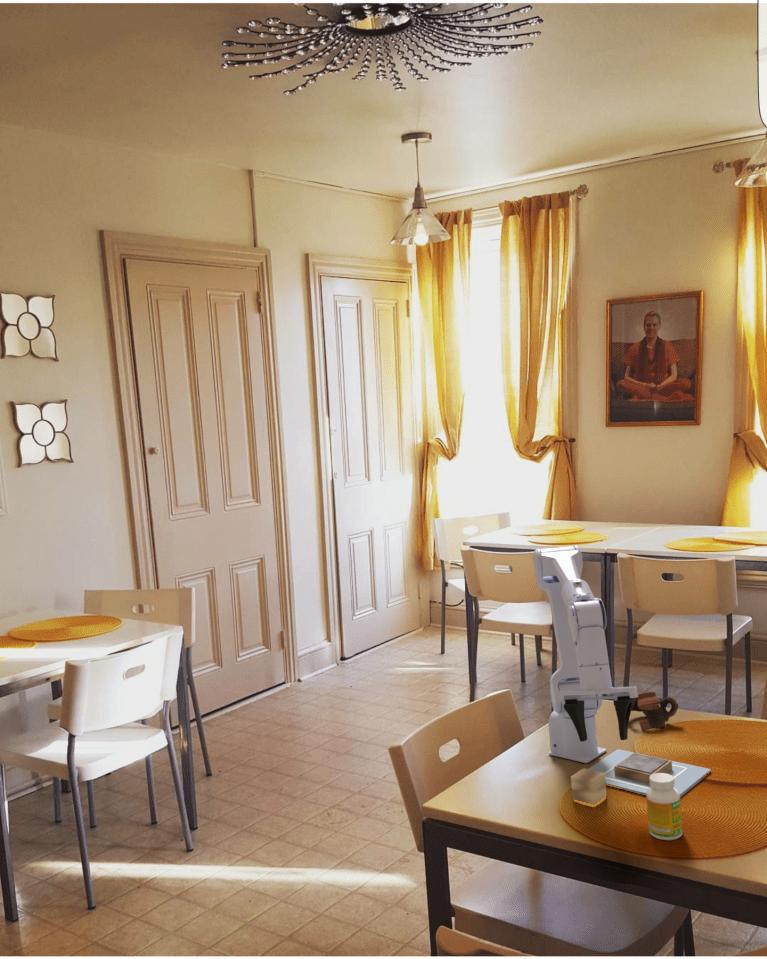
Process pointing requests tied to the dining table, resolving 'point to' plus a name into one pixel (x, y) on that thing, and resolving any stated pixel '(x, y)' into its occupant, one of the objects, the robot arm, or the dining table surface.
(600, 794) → the oak block
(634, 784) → the board
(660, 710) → the pottery mug
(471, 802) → the dining table surface
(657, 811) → the supplement bottle
